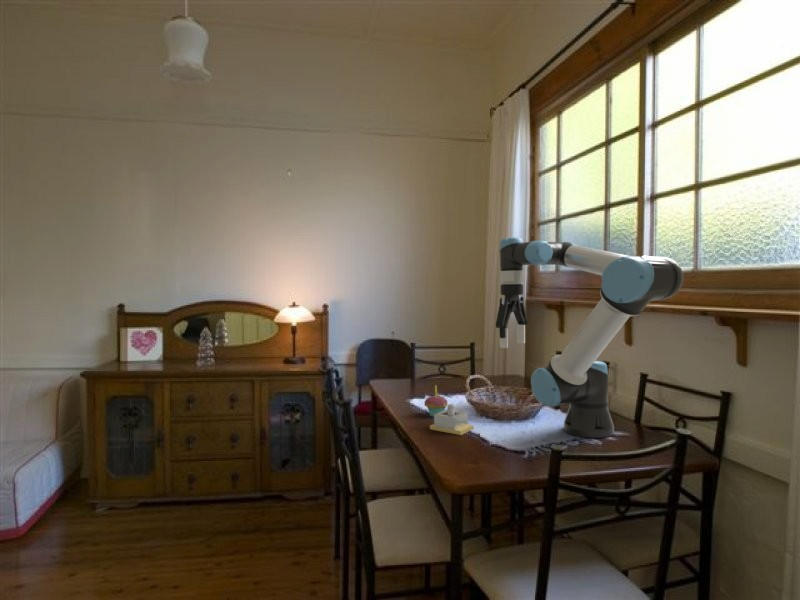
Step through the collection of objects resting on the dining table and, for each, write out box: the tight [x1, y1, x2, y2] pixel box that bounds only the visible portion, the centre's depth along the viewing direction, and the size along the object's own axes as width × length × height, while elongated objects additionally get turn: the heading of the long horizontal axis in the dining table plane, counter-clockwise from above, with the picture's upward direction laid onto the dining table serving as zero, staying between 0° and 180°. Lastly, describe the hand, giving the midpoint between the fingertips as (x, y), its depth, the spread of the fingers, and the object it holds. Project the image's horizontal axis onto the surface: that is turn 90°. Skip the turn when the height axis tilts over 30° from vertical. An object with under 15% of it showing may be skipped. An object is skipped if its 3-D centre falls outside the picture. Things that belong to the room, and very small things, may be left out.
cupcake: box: [423, 384, 449, 418], centre depth 185 cm, size 9×8×12 cm
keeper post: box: [429, 403, 474, 436], centre depth 167 cm, size 12×8×8 cm, turn 52°
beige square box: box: [433, 408, 469, 430], centre depth 168 cm, size 8×8×4 cm
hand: (512, 345), depth 172 cm, fingers open, 13 cm apart
